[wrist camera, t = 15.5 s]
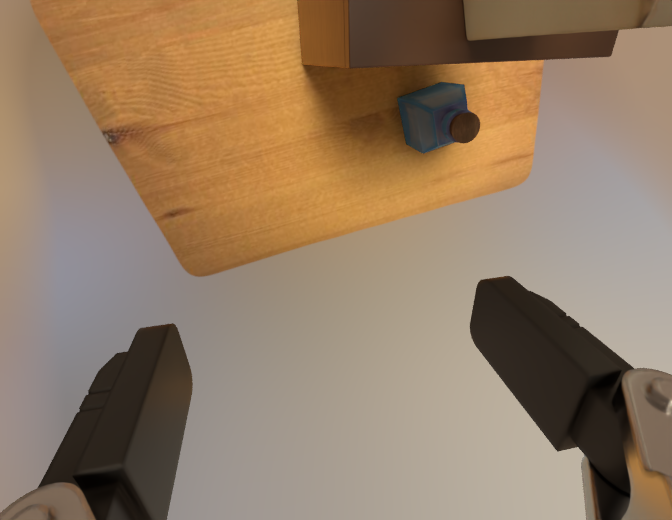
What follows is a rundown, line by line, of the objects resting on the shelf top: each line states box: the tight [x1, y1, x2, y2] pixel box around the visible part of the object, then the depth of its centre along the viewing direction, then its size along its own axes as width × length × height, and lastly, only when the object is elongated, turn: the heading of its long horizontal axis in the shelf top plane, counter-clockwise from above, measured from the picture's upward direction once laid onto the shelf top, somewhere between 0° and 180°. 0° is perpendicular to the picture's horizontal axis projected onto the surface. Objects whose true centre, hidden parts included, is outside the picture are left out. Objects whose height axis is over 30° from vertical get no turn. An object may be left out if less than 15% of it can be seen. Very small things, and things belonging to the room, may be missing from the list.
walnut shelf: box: [297, 0, 619, 69], centre depth 30 cm, size 16×9×28 cm, turn 92°
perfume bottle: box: [397, 82, 480, 154], centre depth 44 cm, size 6×6×12 cm
